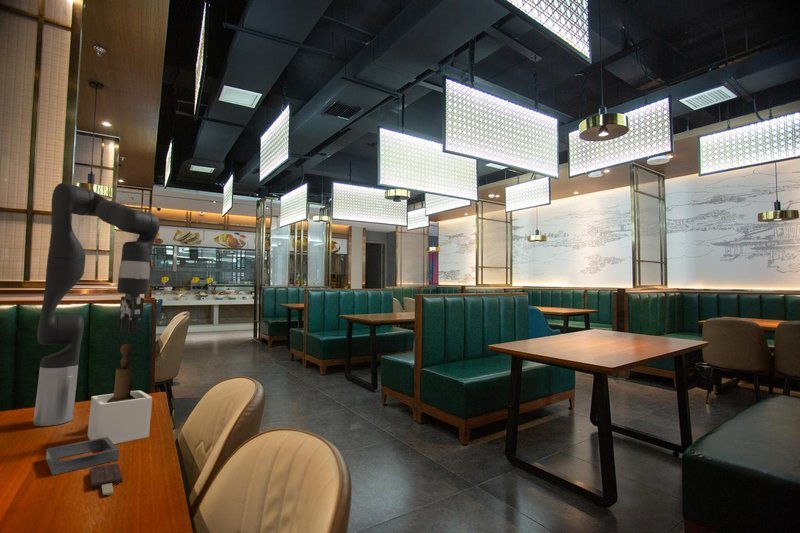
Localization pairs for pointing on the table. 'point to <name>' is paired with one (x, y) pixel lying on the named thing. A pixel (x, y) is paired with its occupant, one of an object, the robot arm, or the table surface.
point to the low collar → (82, 461)
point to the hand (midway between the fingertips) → (128, 332)
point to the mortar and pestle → (123, 377)
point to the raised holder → (120, 418)
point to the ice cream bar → (105, 478)
